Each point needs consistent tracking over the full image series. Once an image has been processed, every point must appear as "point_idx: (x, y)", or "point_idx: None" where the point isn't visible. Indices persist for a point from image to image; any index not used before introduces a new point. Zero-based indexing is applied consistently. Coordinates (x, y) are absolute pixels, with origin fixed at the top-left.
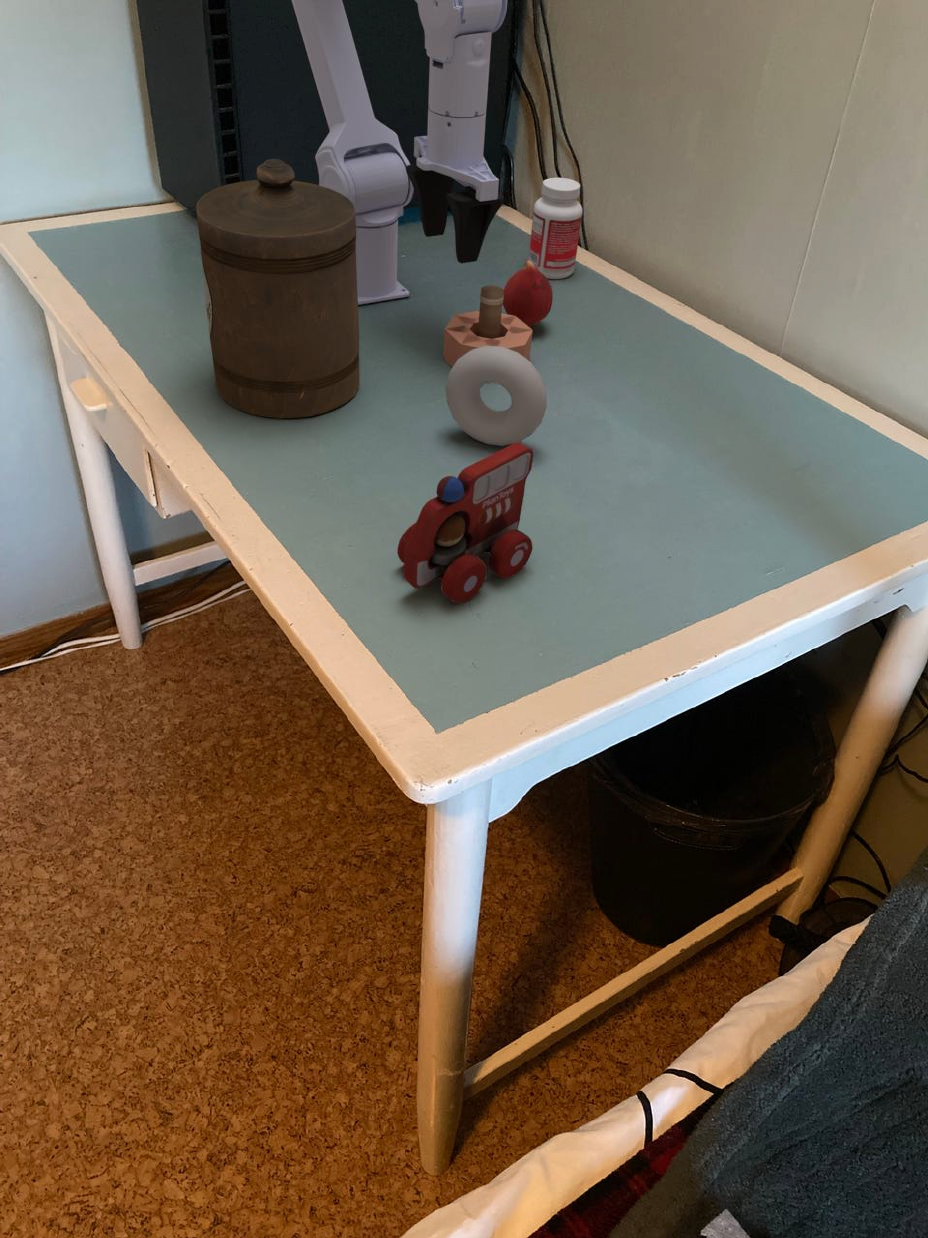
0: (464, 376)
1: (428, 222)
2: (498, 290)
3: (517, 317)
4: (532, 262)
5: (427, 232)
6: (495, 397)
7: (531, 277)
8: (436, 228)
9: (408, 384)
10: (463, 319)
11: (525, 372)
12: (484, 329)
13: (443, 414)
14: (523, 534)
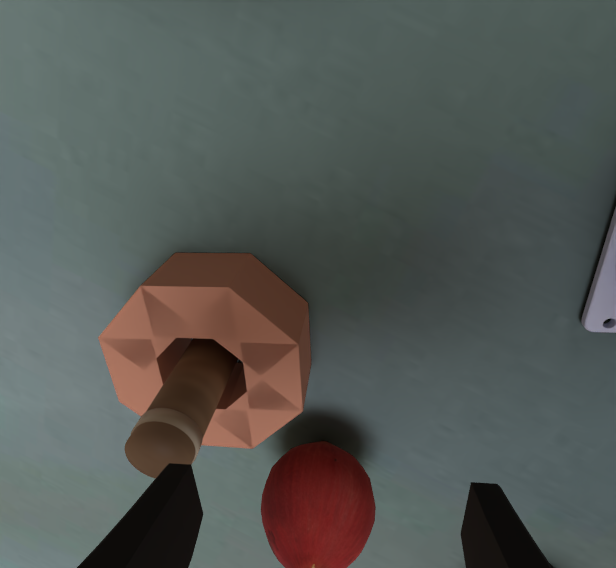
0: None
1: (489, 550)
2: (154, 467)
3: (291, 451)
4: None
5: (476, 500)
6: (73, 274)
7: (284, 554)
8: (472, 542)
9: (149, 116)
10: (268, 351)
11: None
12: (179, 363)
13: (8, 137)
14: None
